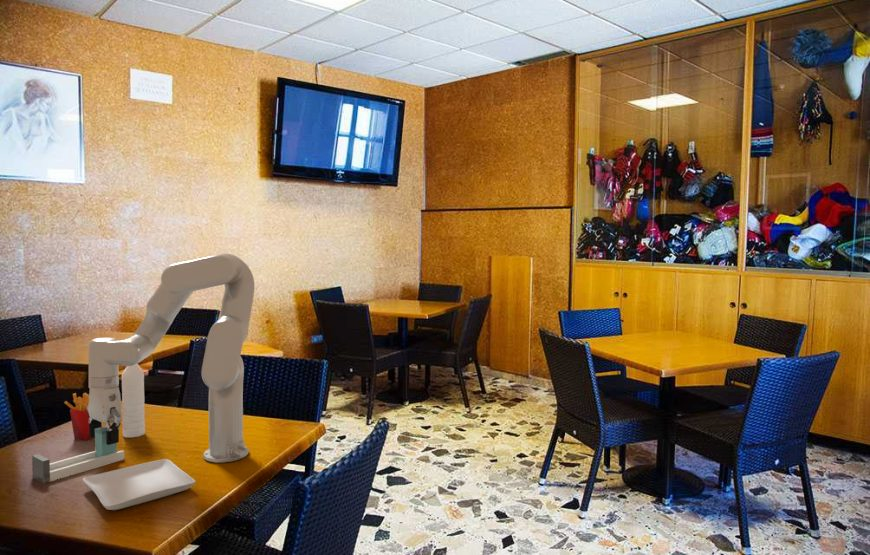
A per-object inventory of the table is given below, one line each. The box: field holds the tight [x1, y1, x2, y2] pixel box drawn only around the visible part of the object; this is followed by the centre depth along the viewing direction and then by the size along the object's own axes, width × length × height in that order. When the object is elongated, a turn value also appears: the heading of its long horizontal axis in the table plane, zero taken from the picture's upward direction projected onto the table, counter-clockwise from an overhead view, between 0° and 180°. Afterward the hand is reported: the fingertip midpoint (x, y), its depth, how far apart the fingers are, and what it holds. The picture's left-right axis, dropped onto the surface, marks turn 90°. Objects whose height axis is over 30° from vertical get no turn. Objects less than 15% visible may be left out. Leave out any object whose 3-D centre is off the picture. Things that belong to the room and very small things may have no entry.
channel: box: [31, 449, 125, 485], centre depth 163 cm, size 7×21×6 cm, turn 146°
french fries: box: [63, 392, 95, 442], centre depth 186 cm, size 9×8×15 cm
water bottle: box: [121, 363, 146, 439], centre depth 191 cm, size 9×6×25 cm
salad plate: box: [82, 458, 196, 511], centre depth 150 cm, size 21×21×3 cm
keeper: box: [94, 425, 118, 457], centre depth 169 cm, size 4×4×8 cm
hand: (103, 439), depth 168 cm, fingers open, 9 cm apart
